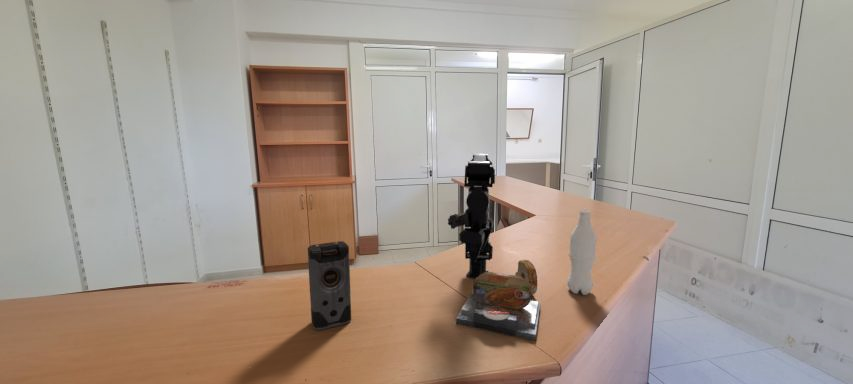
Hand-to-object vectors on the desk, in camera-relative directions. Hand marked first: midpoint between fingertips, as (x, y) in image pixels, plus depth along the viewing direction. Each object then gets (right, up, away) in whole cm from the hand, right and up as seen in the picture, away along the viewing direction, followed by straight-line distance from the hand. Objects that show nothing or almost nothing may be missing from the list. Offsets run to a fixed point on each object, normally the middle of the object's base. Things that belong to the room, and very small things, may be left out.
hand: (477, 256), depth 97 cm
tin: (+5, -11, -10) cm, 15 cm away
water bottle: (+32, -12, +4) cm, 34 cm away
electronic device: (-39, -14, -13) cm, 44 cm away
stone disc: (+15, -12, +3) cm, 20 cm away
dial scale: (+4, -13, -11) cm, 18 cm away
